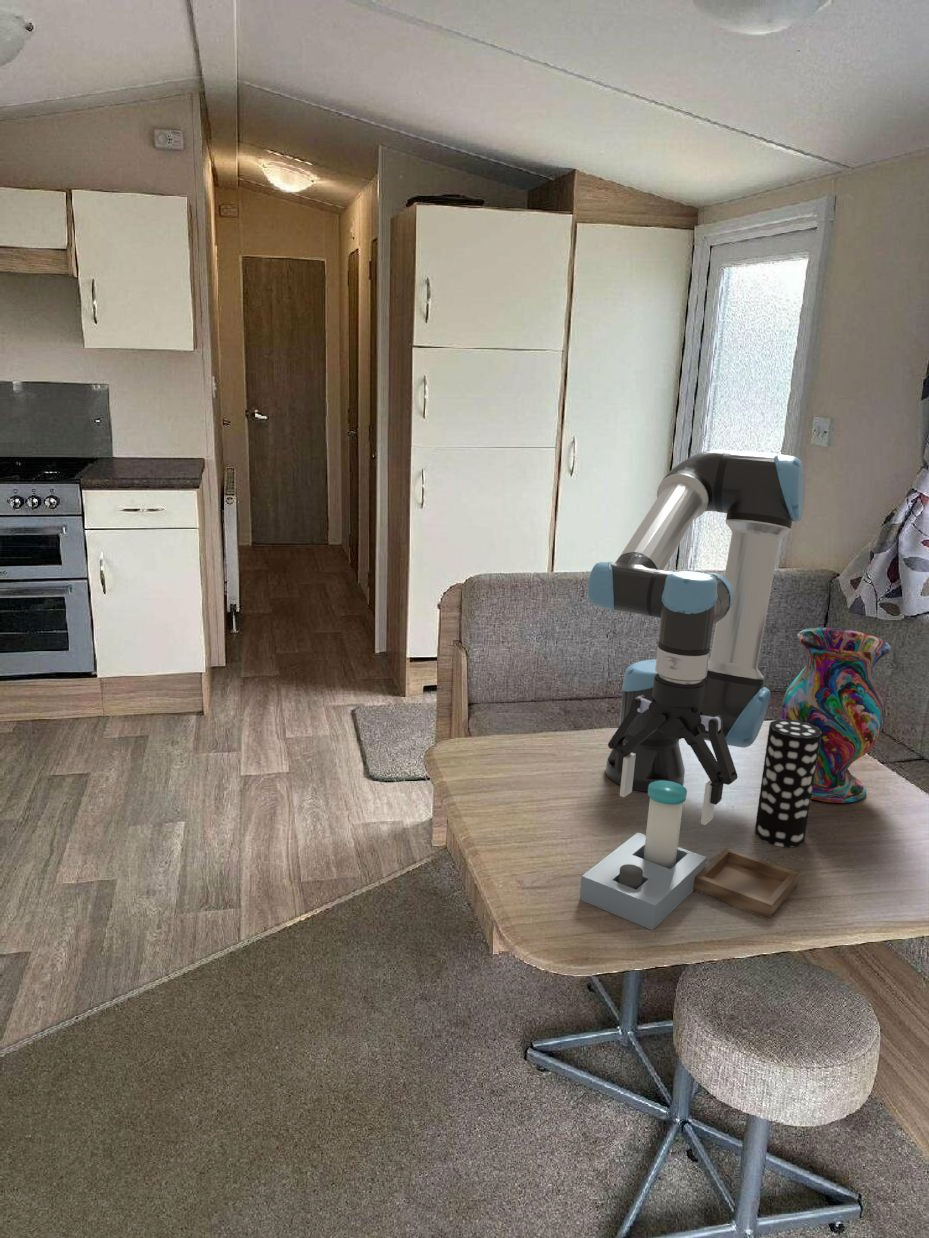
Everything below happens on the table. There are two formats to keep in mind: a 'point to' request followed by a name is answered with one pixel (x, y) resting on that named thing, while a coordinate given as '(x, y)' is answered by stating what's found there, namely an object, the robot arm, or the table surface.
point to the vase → (838, 705)
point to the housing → (657, 888)
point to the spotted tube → (787, 782)
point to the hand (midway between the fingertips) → (665, 807)
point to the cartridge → (664, 822)
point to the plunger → (631, 876)
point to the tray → (746, 882)
